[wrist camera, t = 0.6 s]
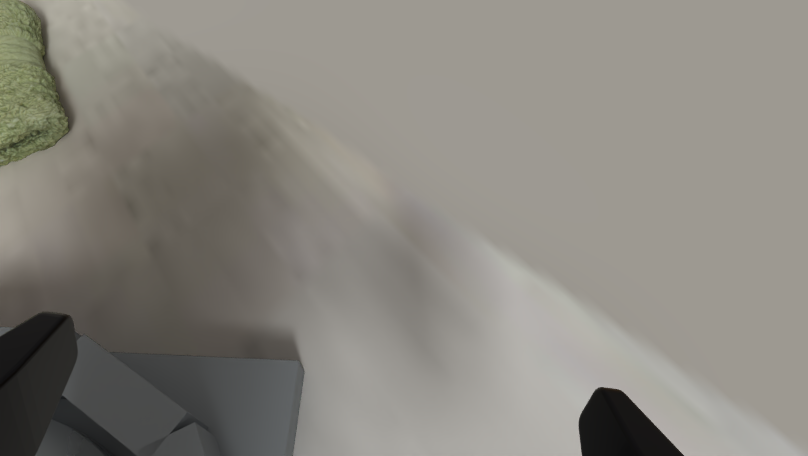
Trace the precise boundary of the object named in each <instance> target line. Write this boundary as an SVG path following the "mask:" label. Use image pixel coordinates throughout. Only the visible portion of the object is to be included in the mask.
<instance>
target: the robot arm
mask: <svg viewBox="0 0 808 456" xmlns="http://www.w3.org/2000/svg"><path fill="white" fill-rule="evenodd" d="M77 356H78V347H77V341H76V335H75V330H74V324H73V320H72V318H71V317H70V316H69V315H67V314H61V313H53V312H42V313H39V314H37V315H35V316H33V317H32V318H30V319H28V320H26V321H25V322H23V323H21V324H20V325H18V326H16V327H15V328H13V329H11V330H9V331H8V332H6V333H4V334H3V335H1V336H0V456H35V455H36V453H37V451H38V449H39V447H40V445H41V443H42V440H43V438H44V436H45V434H46V431H47V429H48V427H49V424H50V422H51V420H52V417H53V415H54V413H55V410H56V408H57V406H58V403H59V401H60V399H61V396H62V394H63V392H64V389H65V387H66V385H67V382H68V380H69V378H70V375H71V373H72V371H73V368H74V366H75V364H76V360H77ZM579 434H580V442H581V451H582V456H684V455H683V454H682V453H681V452H680V451H679V450H678V449H677V448H676V447H675V446H674V445H673V444H672V443H671V442H670V440H669V439H668V438H667V437H666V436H665V435H664V434H663V433H662V432H661V431H660V430H659V429H658V428H657V427H656V426H655V425H654V424H653V423H652V422H651V420H650V419H649V418H648V417H647V416H646V415H645V414H644V413H643V412H642V411H641V410H640V409H639V408H638V407H637V406H636V405H635V404H634V403H633V402H632V401H631V399H630V398H629V397H628V396H627V395H626V394H625V393H624V392H622V391H621V390H618V389H612V388H604V387H599V388H598V389H596V390H595V391H594V393H593V395H592V396H591V398H590V400H589V401H588V403H587V405H586V406H585V408H584V410H583V411H582V413H581V415H580V418H579Z"/></svg>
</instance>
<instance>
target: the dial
mask: <svg viewBox="0 0 808 456" xmlns="http://www.w3.org/2000/svg"><path fill="white" fill-rule="evenodd" d="M35 456H114V455H113V454H112V453H111V452H110V451H108V450H107V449H106V448H105V447H103V446H102V445H101V444H99V443H98V442H96V441H95V440H93V439H92V438H90V437H89V436H87V435H86V434H84V433H82V432H79V431H77V430H75V429H73V428H71V427H69V426H67V425H64V424H62V423H60V422H57V421H55V420H53V419H52V420H51V422H50V424H49V427H48V429H47V431H46V434H45V436H44V438H43V440H42V443H41V445H40V447H39V449H38V451H37V453H36V455H35Z"/></svg>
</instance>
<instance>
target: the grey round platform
mask: <svg viewBox="0 0 808 456" xmlns="http://www.w3.org/2000/svg"><path fill="white" fill-rule="evenodd" d="M11 329H13V328H11V327H0V336H1V335H3V334H4V333H6V332H8V331H9V330H11ZM75 335H76V341H77V347H78V356H77V360H76V364H75V366H74V368H73V371H72V373H71V375H70V378H69V380H68V382H67V385H66V387H65V389H64V392H63V394H62V396H61V399H60V401H59V403H58V406H57V408H56V410H55V413H54V415H53V417H52V419H53V420H55V421H57V422H60V423H62V424H64V425H67V426H69V427H71V428H73V429H75V430H77V431H79V432H82V433H84V434H86V435H87V436H89V437H90V438H92V439H93V440H95V441H96V442H98V443H99V444H101V445H102V446H103V447H105V448H106V449H107V450H108V451H110V452H111V453H112V454H113V455H114V456H293V450H294V443H295V435H296V428H297V421H298V414H299V407H300V400H301V393H302V386H303V378H304V370H303V368H302V366H301V364H300V362H299V361H296V360H273V359H251V358H229V357H206V356H184V355H162V354H139V353H117V352H108V351H107V350H105V349H104V348H102V347H101V346H100V345H98V344H97V343H96V342H94V341H93V340H92V339H90V338H89V337H88V336H86V335H85V334H83V335H82V336H80V335H79V334H78V333H76V332H75Z"/></svg>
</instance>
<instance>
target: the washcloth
mask: <svg viewBox="0 0 808 456" xmlns="http://www.w3.org/2000/svg"><path fill="white" fill-rule="evenodd" d="M41 34H42V32H41V20H40V18H38V17H37V15H36V13H35V11H34V10H33V9H32V8H31V7H29V6H28V5H27V4H25V3H23V2H21V1H19V0H0V167H1V166H2V165H7V164H8V163H9V162H11V161H18V160H21V159H23V158H26V156H28V155H30V154H32V153H34V152H37V151H39V150H45V149H47V148H49V147H52V146H54V145H55V144H56V142H57V141H58V140H59V139H60V138H61V137H63V136H64V135H65V134H66V133H68V131H69V128H68V121H67V120H68V117H66V116H65V114H64V112H65V111H64V109H63V107H62V106H61V103H60V102H59V101H58V100H59V98H60V97H59V95H58V93H57V92H56V85H55V80H54V79H55V77H53V76H51V74H50V73H48V72H47V71H46V67H45V63H44V61H43V56H44V55H45V51H44V49H45V46H44V45H43V44H42V42H43V40H42V36H41Z"/></svg>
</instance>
